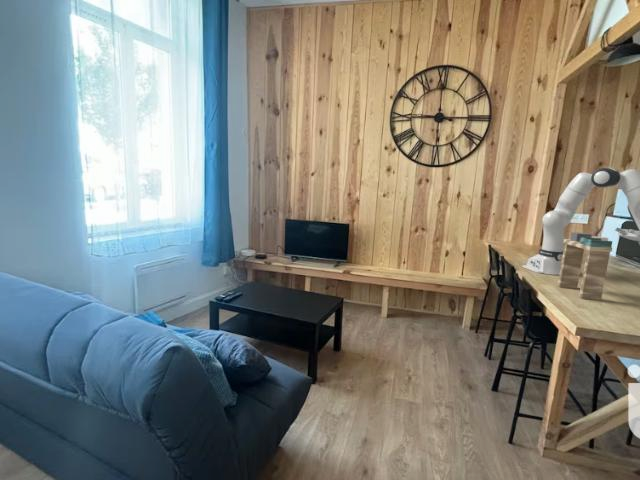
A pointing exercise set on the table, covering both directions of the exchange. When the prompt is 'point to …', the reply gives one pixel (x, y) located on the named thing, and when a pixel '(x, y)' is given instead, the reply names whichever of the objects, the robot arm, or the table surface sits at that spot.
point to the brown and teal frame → (592, 269)
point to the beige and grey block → (584, 236)
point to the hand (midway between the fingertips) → (622, 229)
